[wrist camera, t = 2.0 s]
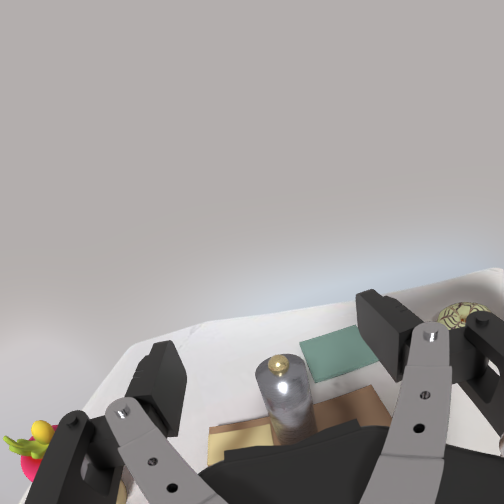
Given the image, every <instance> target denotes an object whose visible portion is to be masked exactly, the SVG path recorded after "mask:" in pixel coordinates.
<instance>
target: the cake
mask: <svg viewBox="0 0 504 504" xmlns="http://www.w3.org/2000/svg"><path fill="white" fill-rule="evenodd" d="M57 426H58V425H53V426H51V425H50V424H49V423H47V422H46V421H42V420H39V421H35V422H34V423H33V425H32V428H31V432H32V435H33V436H32V437H31V438H30V439H29V440H24V439H18V440H17V442H15V441H14V440H12V439H10V438H9V437H7V436H4V438H3V440H4V441H5V442H6V443H7V444H9V445H10V446H9V449H10V451H12V452H14V453H17V454H19V455H21V467H22V470H23V472H24V474H25V475H26V477H27V478H28V479H29V480H30V481H31V482H32V483H33V480H34V478H35V475H36V473H37V470H38V468H39V466H40V463H41V461H42V459H43V456H44V454H45V452H46V450H47V448H48V445H49V443H50V441H51V439H52V437H53V435H54V433H55V430H56V428H57ZM88 465H89V462H88V461H87V460H86V459H85V458H84V460H83V463H82V467H81V476H82V478H83V480H84V478H85V474H86V471H87V468H88ZM126 499H127V492H126V487H125V485H124V483H123V482H122V480H120V485H119V491H118V496H117V501H116V504H126Z"/></svg>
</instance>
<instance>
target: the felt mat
mask: <svg viewBox="0 0 504 504" xmlns="http://www.w3.org/2000/svg"><path fill="white" fill-rule="evenodd" d="M299 343H300V347H301V349H302V352H303V354H304V357H305V359H306V361H307V364H308V366H309V369H310V371H311V374H312V376H313V379H314V381H315V383H317V382H321V381H324V380H327V379H330V378H333V377H336V376H339V375H342V374H345V373H348V372H350V371H353V370H356V369H359V368H361V367H364V366H367V365H369V364H372V363H374V362H377V361H379V359H378V358H377V357H376V356H375V354H374V353H373V352H372V350H371V349H370V348H369V346H368V345H367V344H366V343H365V341H364V340H363V339H362V337H361V335H360V333H359V329H358V328H357V326H356V325H353V326H350V327H347V328H344V329H341V330H338V331H335V332H332V333H329V334H326V335H322V336H319V337H316V338H313V339H309V340H306V341H303V342H299Z"/></svg>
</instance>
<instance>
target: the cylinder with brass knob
mask: <svg viewBox="0 0 504 504" xmlns="http://www.w3.org/2000/svg"><path fill="white" fill-rule="evenodd" d="M255 376H256V380H257V383H258V385H259V388H260V391H261V394H262V397H263V400H264V403H265V405H266V408H267V411H268V414H269V416H270V419H271V422H272V425H273V427H274V430H275V433H276V436H277V438H278V441H279V442H280V444H281V445H292V444H295V443H297V442H300V441H302V440H304V439H306V438H308V437H310V436H312V435H314V434H316V433H317V432H318V431H317V425H316V419H315V414H314V408H313V403H312V398H311V393H310V387H309V382H308V377H307V372H306V367H305V363H304V361H303V360H302V359H301V358H300V357H298V356H296V355H292V354H280V355H275V356H273V357H270V358H268V359H266V360H265V361H263V362H262V363H261V364H260V365H259V366H258V367H257V369H256V372H255Z"/></svg>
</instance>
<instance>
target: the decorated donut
mask: <svg viewBox="0 0 504 504" xmlns="http://www.w3.org/2000/svg"><path fill="white" fill-rule="evenodd" d="M475 311H488V312H491V311H490V310H489V309H488V308H487V307H486V306H483V305H480V304H478V303H469V302H461V303H457V304H454V305H451V306H449V307H447V308H445V309H444V310H443V311H441V312H440V314H439V317H438V321H437V322H438V323H441V324H443V325H445V326H446V327H447V328H448V330H451V329H455V328H459V327H464V326H465V323H466V318H467V316H468V315H469V314H470V313H472V312H475Z"/></svg>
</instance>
